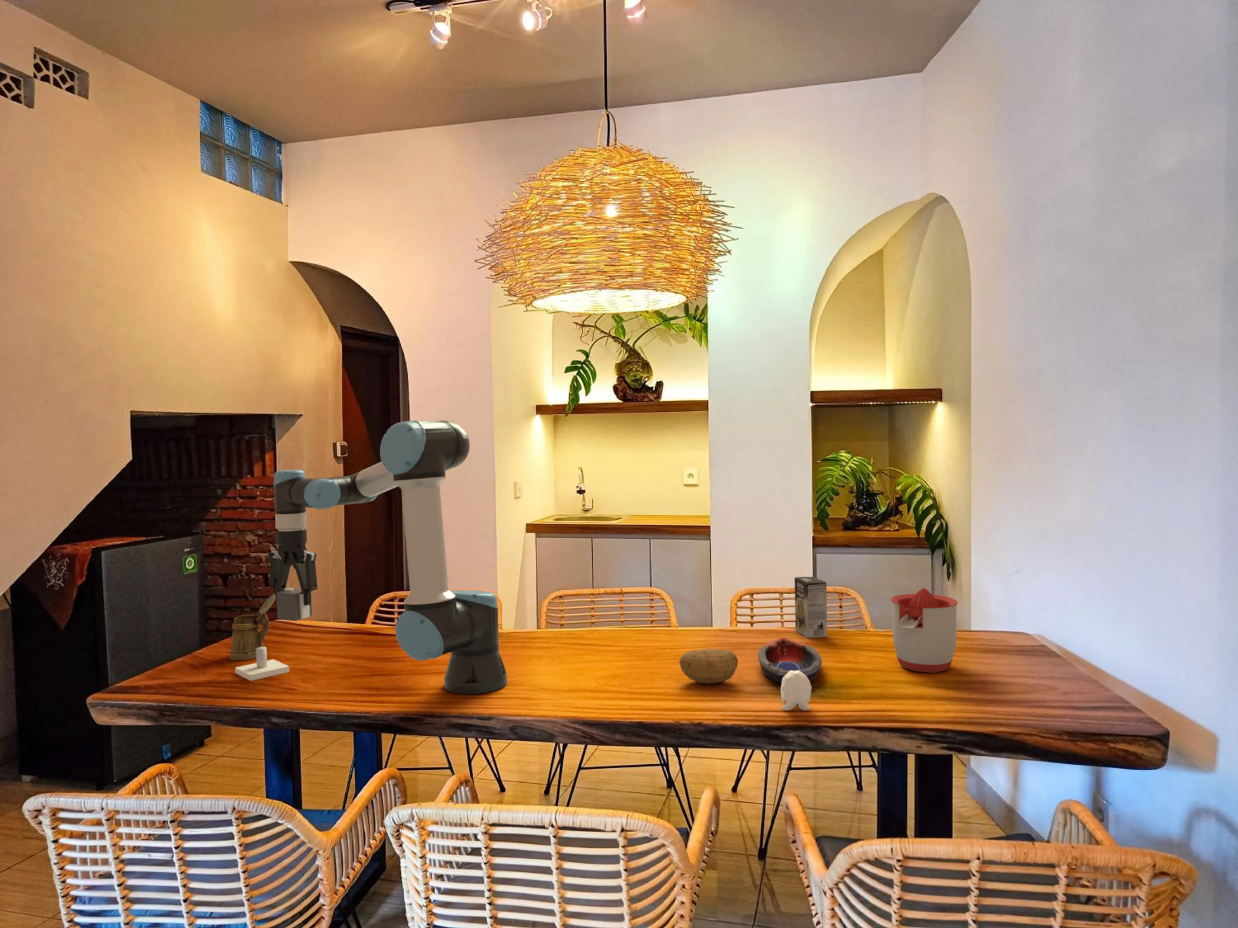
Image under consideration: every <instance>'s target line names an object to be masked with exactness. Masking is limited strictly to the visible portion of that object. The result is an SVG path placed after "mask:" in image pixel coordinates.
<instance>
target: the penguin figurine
mask: <svg viewBox="0 0 1238 928" xmlns="http://www.w3.org/2000/svg"><path fill="white" fill-rule="evenodd" d="M780 695H781V698H780V699H781V702H782V703H784V702H786V703H785V704H784V705H782V707H781V709H782V711H792V710H793V709H795V708H796V706H797V705H798V708H799V709H801V710H802V711H810V708H811V706H810V705H809V703H810V702H811V696H812V685H811V681H809V680H808V678H807V677H806V675H804V674H803V673H802V672H800V671H799V670H797V671H792V670H791V671H789V672H788V673H787V674H786V675H785V676H784V677H783V679H782V683H781V685H780Z"/></svg>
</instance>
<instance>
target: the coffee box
mask: <svg viewBox="0 0 1238 928" xmlns="http://www.w3.org/2000/svg"><path fill="white" fill-rule="evenodd" d="M827 585H828V584H827V581H825V580H822V579H819V578H818V577H816V576H797V577H794V615H795V616H794V617H795V620H794V621H795V632H797V633H799V634H801V635H802V636H803V637H805V638H806V639H813V638H827V637H828V635H827V634H828V632H827V631H828V627H827V626H828V625H827V623H828V622H827V621H828V619H827V618H828V615H827V613H828V611H827V610H828V609H827V607H828V606H827V605H828V603H827V602H828V601H827V599H828V596H827V591H828V589H827V588H828V587H827Z"/></svg>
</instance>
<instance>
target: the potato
mask: <svg viewBox="0 0 1238 928" xmlns="http://www.w3.org/2000/svg"><path fill="white" fill-rule="evenodd" d="M678 662H679V666H680V669H681V671H682V673H683V674H684V675H685V676H686V677H687V678H688V679H690V680H692V681H694V682H695V683H699V684H703V685H714V684H715V685H716V684H719V683H723V682H726V681H727V680H730V679H731V678H732V677H733V675H735V672H736V670H737V669H738V662H739V661H738V658H737V655H736V654H735V653H734V652H733V651H732V650H729V649H715V648H704V649H696V650H690V651H687V652H685V653H683V654H682V655H681V656H680V659H679V661H678Z"/></svg>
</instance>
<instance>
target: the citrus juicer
mask: <svg viewBox="0 0 1238 928" xmlns="http://www.w3.org/2000/svg"><path fill="white" fill-rule="evenodd" d="M890 601H891V603H892V605H891V606H892V607H891V609H892V610H891V611H892V613H891V614H892V615H891V616H892V617H891V618H892V626H891V627H892V640H893V647H894V651H895V653H896V659H897V660H898V663H899V666H900V667H902V668H904V669H905V670H906V669H907V670H910V671H914V672H921V673H927V674H936V673H939V672H945V671H948V670H949V669H950V666H951V665H952V662H953V657H954V656H955V655H954V654H955V652H956V645H957V634H958V633H957V627H958V626H957V605H958V601H957V600H956V598H952V597H949V596H944V595H940V594H932V593H931V592H930V591H929V590H928V589H927V588H926V587H923V588H922V587H921V588H920V590H918V591H917V592H916V593H906V594H905V593H903V594H898V595H895V596H892V597H891V599H890Z"/></svg>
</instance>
